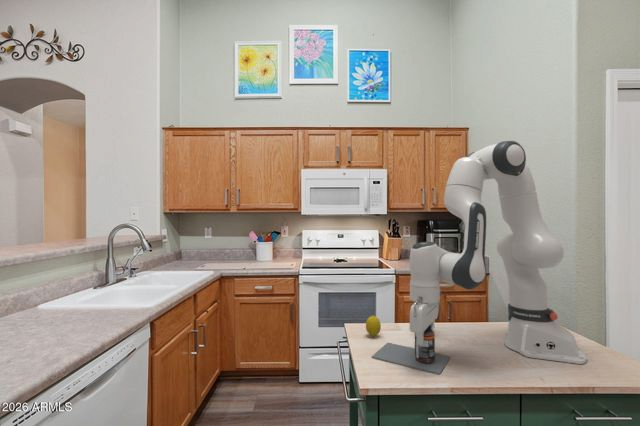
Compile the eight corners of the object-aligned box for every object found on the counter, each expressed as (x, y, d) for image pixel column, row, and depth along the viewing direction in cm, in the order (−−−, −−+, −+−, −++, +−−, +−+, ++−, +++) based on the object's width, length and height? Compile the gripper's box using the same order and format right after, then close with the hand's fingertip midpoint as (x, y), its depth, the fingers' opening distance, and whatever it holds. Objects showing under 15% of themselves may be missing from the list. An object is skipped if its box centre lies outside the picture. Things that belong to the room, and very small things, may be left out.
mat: (450, 357, 103) (450, 355, 103) (440, 375, 91) (440, 373, 91) (387, 343, 114) (387, 342, 114) (371, 357, 103) (371, 356, 103)
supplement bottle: (419, 354, 104) (419, 319, 104) (437, 359, 100) (437, 322, 101) (411, 360, 100) (411, 323, 100) (430, 366, 96) (430, 327, 96)
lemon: (363, 335, 123) (363, 314, 123) (375, 333, 125) (375, 312, 125) (370, 340, 118) (370, 318, 118) (383, 338, 120) (383, 316, 120)
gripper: (425, 303, 90) (426, 353, 90) (442, 289, 107) (442, 331, 107) (403, 300, 93) (404, 348, 93) (423, 287, 110) (423, 328, 110)
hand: (425, 339), depth 100 cm, fingers open, 8 cm apart
